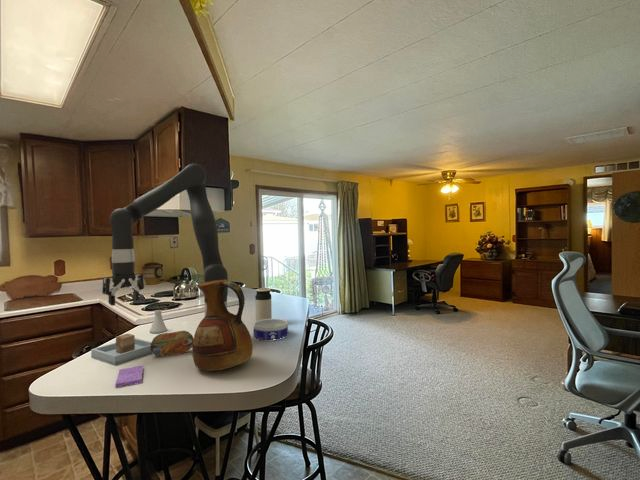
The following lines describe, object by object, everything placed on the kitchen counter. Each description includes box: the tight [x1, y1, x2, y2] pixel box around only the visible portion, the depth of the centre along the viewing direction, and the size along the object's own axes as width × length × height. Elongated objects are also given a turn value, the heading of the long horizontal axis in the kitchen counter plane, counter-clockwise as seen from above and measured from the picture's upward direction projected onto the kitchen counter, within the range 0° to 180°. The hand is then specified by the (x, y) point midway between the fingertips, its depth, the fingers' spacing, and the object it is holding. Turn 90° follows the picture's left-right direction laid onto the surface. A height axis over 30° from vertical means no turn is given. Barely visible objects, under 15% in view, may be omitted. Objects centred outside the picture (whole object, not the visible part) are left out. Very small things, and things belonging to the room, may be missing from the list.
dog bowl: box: [253, 318, 289, 341], centre depth 146 cm, size 15×15×6 cm
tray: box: [90, 337, 153, 366], centre depth 124 cm, size 16×16×3 cm
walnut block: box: [115, 333, 136, 354], centre depth 124 cm, size 4×4×6 cm
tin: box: [150, 330, 194, 358], centre depth 124 cm, size 15×3×8 cm, turn 117°
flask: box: [149, 309, 168, 334], centre depth 154 cm, size 7×7×10 cm
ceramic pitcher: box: [191, 279, 254, 371], centre depth 112 cm, size 20×20×30 cm
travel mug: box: [254, 287, 273, 322], centre depth 165 cm, size 8×8×18 cm
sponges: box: [114, 364, 144, 389], centre depth 103 cm, size 7×13×2 cm, turn 27°
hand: (124, 303), depth 124 cm, fingers open, 8 cm apart
